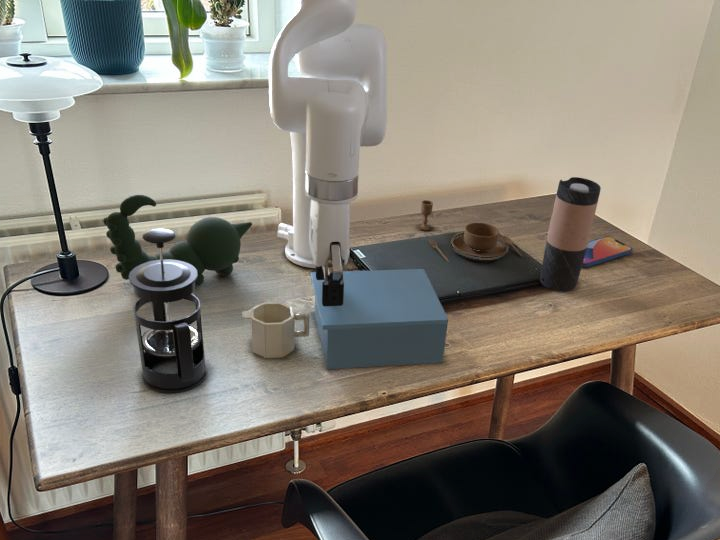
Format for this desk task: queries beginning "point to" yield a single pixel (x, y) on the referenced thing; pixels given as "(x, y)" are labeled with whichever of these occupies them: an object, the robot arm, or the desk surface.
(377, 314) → the lid
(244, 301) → the desk surface
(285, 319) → the jug
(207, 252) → the toy figurine
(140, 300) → the french press
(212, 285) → the desk surface
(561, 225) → the travel mug
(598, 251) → the smartphone
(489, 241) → the place setting
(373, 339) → the chest
